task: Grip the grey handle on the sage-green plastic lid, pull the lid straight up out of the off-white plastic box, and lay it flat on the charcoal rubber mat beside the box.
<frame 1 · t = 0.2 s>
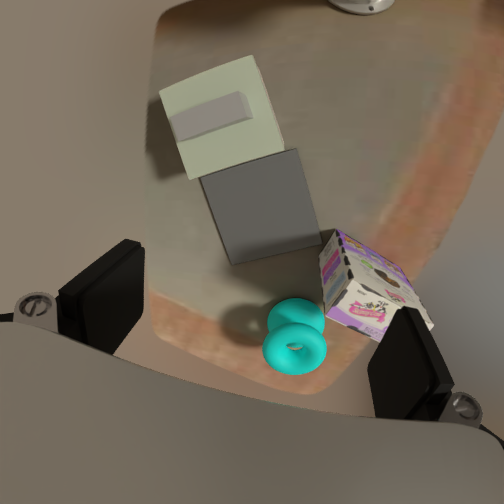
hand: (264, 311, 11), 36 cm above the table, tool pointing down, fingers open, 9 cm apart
rubber mat: (262, 209, 47), on the table
donuts: (296, 318, 54), on the table
lid: (223, 117, 37), point 6 cm above the table, touching storage box
candy box: (361, 262, 48), on the table
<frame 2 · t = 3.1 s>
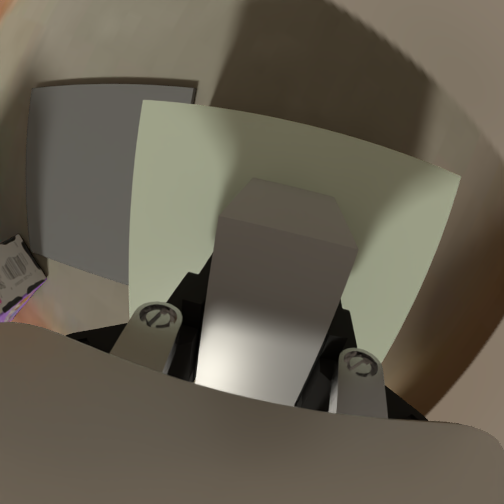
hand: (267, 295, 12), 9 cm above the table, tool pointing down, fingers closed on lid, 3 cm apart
rubber mat: (90, 182, 21), on the table
lid: (274, 260, 14), point 6 cm above the table, touching gripper, storage box
candy box: (14, 282, 27), on the table
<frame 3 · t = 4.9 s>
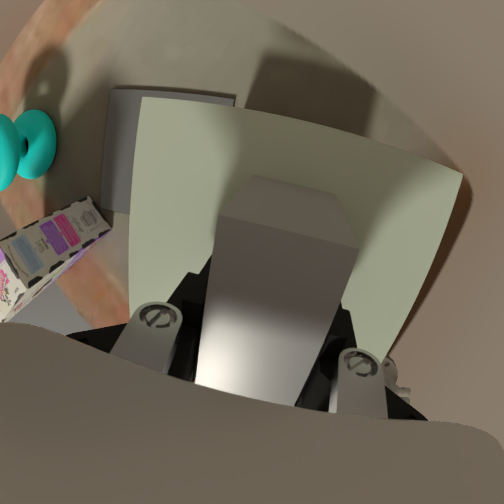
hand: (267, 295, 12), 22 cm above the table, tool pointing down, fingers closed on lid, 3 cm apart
rubber mat: (158, 156, 33), on the table
donuts: (38, 142, 34), on the table
lid: (275, 258, 14), point 19 cm above the table, touching gripper
candy box: (75, 237, 39), on the table
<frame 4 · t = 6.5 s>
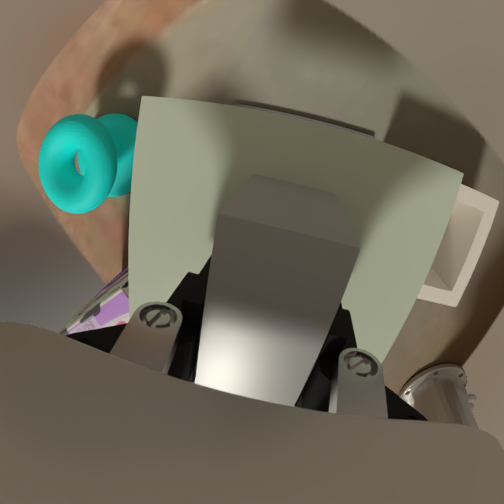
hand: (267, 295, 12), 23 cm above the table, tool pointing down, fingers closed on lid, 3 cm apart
rubber mat: (288, 185, 32), on the table
storage box: (411, 219, 31), on the table
donuts: (119, 153, 34), on the table
lid: (275, 257, 14), point 19 cm above the table, touching gripper
candy box: (167, 264, 38), on the table
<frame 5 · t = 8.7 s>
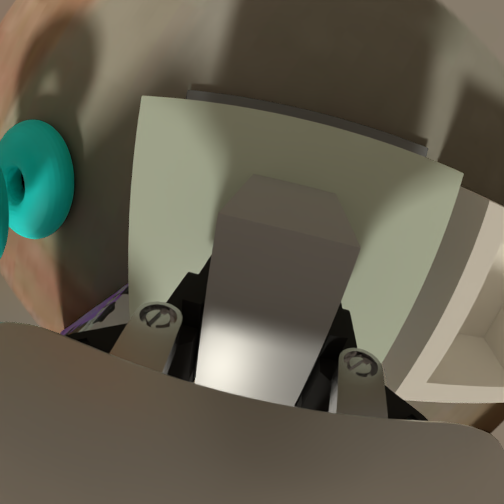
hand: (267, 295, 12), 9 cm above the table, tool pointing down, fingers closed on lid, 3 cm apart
rubber mat: (283, 227, 20), on the table
storage box: (468, 277, 19), on the table
donuts: (42, 175, 21), on the table
lid: (275, 257, 14), point 6 cm above the table, touching gripper
candy box: (115, 328, 26), on the table
when the fingers open (5 cm above the table, at t = 10.3 s): lid stays where it is, resting on rubber mat.
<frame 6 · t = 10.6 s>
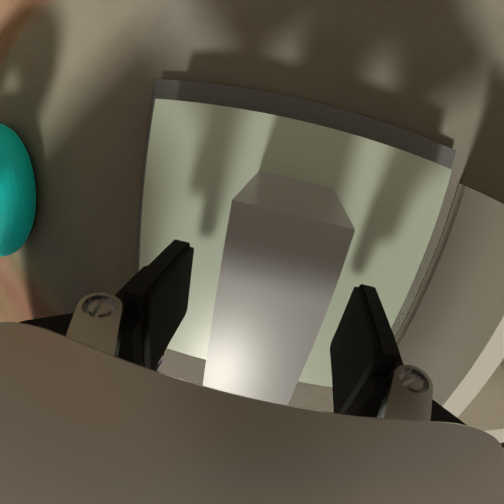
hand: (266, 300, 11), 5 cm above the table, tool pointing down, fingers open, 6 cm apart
rubber mat: (276, 248, 16), on the table
storage box: (491, 301, 15), on the table
donuts: (6, 185, 17), on the table
lid: (277, 250, 15), resting on rubber mat
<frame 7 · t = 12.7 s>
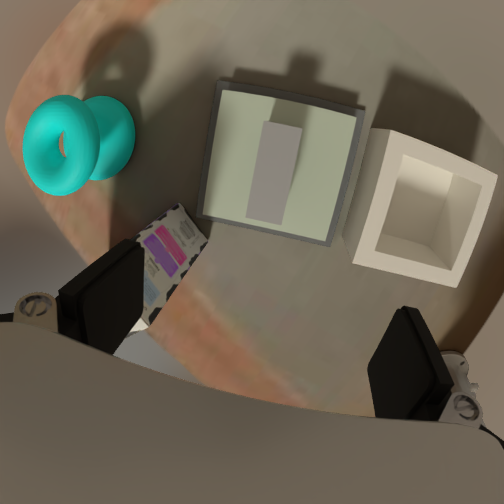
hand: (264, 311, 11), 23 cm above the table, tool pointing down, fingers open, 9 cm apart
rubber mat: (277, 163, 31), on the table
storage box: (407, 197, 30), on the table
donuts: (105, 136, 32), on the table
lid: (277, 162, 30), resting on rubber mat
candy box: (154, 249, 37), on the table
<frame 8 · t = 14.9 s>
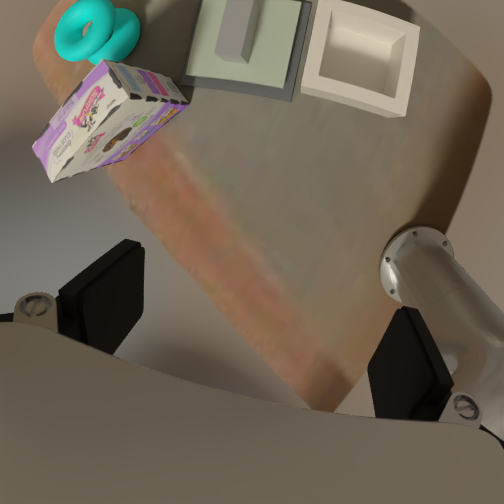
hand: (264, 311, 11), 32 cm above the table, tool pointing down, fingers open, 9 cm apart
rubber mat: (245, 41, 34), on the table
storage box: (353, 63, 33), on the table
donuts: (116, 38, 35), on the table
lid: (245, 39, 33), resting on rubber mat
candy box: (145, 119, 40), on the table
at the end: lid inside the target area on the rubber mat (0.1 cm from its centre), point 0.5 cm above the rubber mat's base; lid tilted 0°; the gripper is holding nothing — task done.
